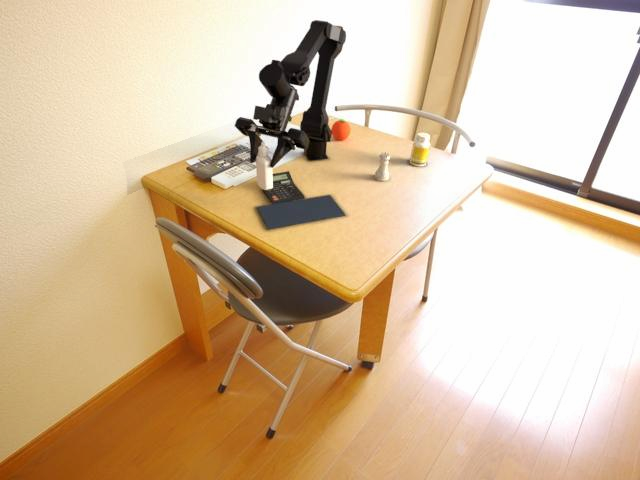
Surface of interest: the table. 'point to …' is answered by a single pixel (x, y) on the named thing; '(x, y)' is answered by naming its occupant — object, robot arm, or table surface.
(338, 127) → the clementine
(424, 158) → the supplement bottle
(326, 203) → the placemat
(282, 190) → the calculator
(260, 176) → the eye dropper bottle
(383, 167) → the rook chess piece
